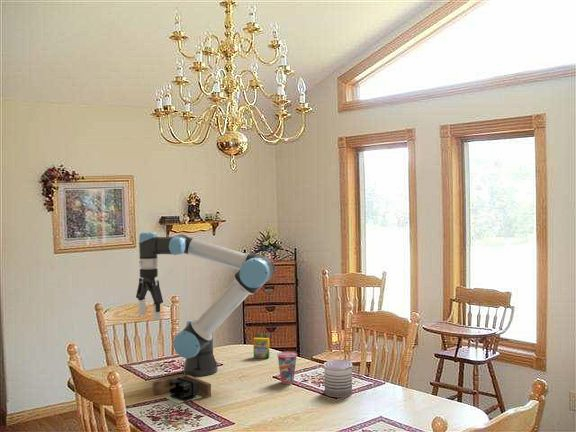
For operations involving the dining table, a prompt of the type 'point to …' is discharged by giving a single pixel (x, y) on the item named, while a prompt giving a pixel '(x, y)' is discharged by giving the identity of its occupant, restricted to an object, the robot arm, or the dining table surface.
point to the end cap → (183, 389)
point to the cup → (287, 366)
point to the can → (338, 378)
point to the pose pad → (181, 400)
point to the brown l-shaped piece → (164, 387)
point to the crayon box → (261, 346)
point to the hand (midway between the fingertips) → (149, 317)
